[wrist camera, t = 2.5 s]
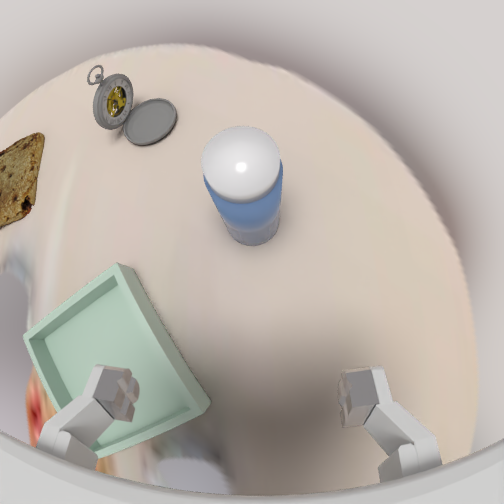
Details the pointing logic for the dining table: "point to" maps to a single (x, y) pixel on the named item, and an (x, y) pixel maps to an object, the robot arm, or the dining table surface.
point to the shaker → (245, 182)
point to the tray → (116, 357)
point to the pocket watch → (135, 121)
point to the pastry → (19, 177)
